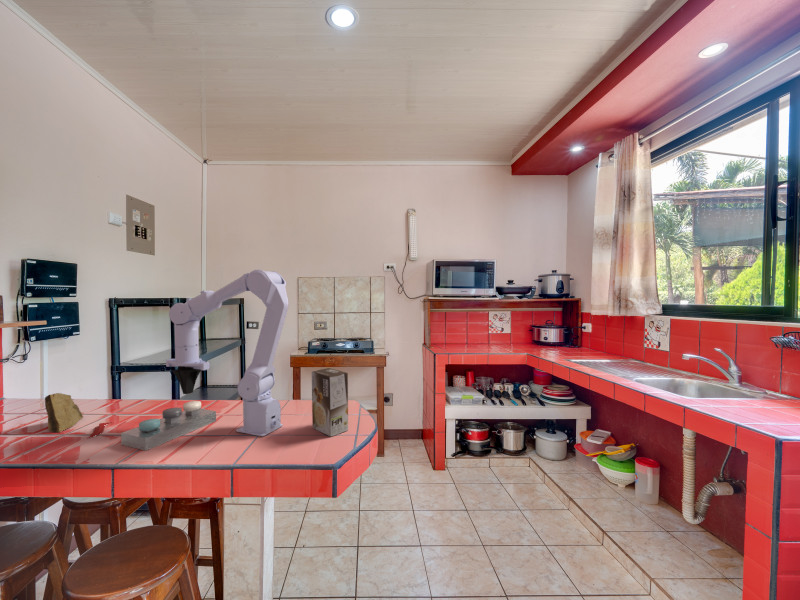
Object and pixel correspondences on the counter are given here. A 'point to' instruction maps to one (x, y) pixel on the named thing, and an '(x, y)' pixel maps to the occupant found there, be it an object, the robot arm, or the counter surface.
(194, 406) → the button ivory
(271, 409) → the robot arm
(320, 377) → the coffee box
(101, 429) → the cayenne pepper
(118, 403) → the counter surface
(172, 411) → the button charcoal
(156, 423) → the button teal
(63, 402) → the rock
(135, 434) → the panel
